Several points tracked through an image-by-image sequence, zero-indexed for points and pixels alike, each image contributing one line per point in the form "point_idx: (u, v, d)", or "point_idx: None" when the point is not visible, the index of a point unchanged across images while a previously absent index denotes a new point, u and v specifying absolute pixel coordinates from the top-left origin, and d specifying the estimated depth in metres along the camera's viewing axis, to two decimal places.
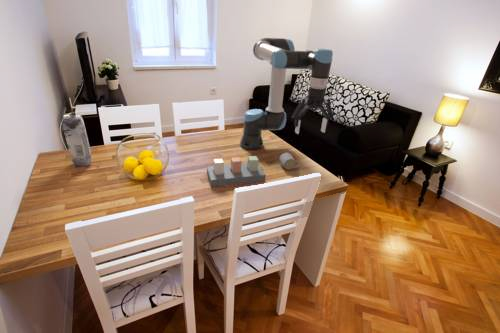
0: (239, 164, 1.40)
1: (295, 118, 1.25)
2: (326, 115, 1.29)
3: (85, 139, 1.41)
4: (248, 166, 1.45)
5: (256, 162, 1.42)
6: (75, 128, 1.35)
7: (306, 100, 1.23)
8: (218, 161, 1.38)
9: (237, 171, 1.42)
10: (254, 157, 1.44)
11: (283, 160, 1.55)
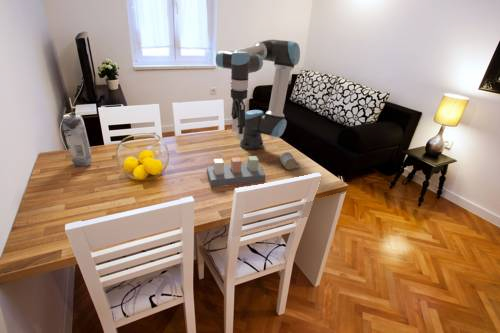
0: (239, 164, 1.40)
1: None
2: (238, 121, 1.26)
3: (85, 139, 1.41)
4: (248, 166, 1.45)
5: (256, 162, 1.42)
6: (75, 128, 1.35)
7: (235, 99, 1.30)
8: (218, 161, 1.38)
9: (237, 171, 1.42)
10: (254, 157, 1.44)
11: (284, 160, 1.55)
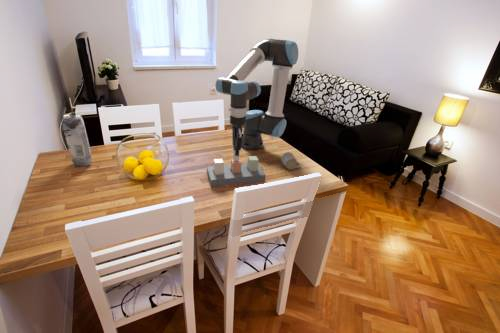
0: (239, 165, 1.40)
1: (233, 144, 1.39)
2: (234, 145, 1.35)
3: (85, 139, 1.41)
4: (248, 166, 1.45)
5: (256, 162, 1.42)
6: (75, 128, 1.35)
7: (234, 126, 1.36)
8: (218, 161, 1.38)
9: (237, 172, 1.42)
10: (254, 157, 1.44)
11: (285, 160, 1.55)
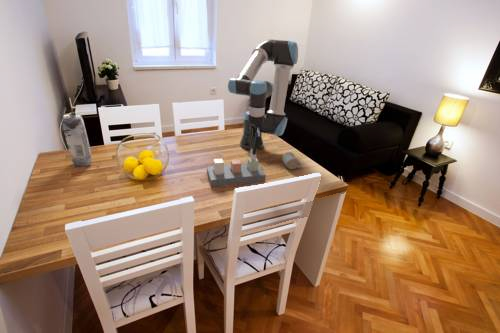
0: (239, 166, 1.41)
1: (250, 143, 1.41)
2: (252, 143, 1.38)
3: (85, 139, 1.41)
4: (248, 167, 1.45)
5: (256, 163, 1.43)
6: (75, 128, 1.35)
7: None
8: (218, 161, 1.38)
9: None
10: None
11: (286, 160, 1.55)
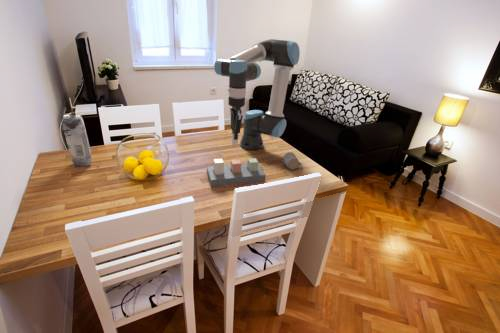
0: (239, 166, 1.41)
1: (231, 127, 1.34)
2: (233, 128, 1.30)
3: (85, 139, 1.41)
4: (248, 168, 1.46)
5: (256, 164, 1.43)
6: (75, 128, 1.35)
7: None
8: (218, 161, 1.38)
9: None
10: (254, 159, 1.45)
11: (287, 160, 1.55)
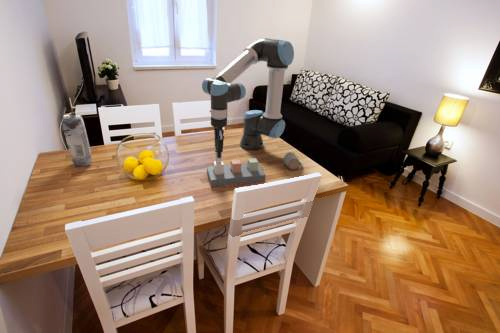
0: (239, 166, 1.41)
1: (215, 146, 1.37)
2: None
3: (85, 139, 1.41)
4: (248, 168, 1.46)
5: (256, 164, 1.43)
6: (75, 128, 1.35)
7: None
8: (218, 163, 1.38)
9: None
10: (254, 159, 1.45)
11: (287, 160, 1.56)
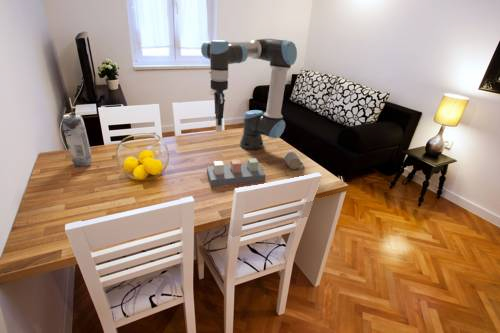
0: (239, 166, 1.41)
1: (215, 113, 1.29)
2: (216, 113, 1.25)
3: (85, 139, 1.41)
4: (248, 168, 1.46)
5: (256, 164, 1.43)
6: (75, 128, 1.35)
7: None
8: (218, 163, 1.38)
9: None
10: (254, 159, 1.45)
11: (288, 160, 1.56)
